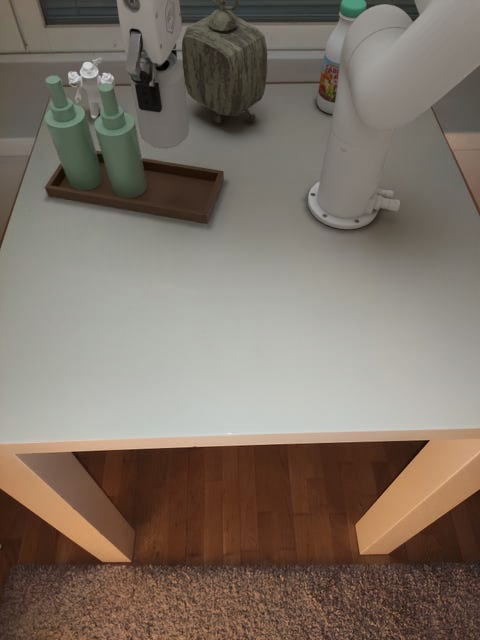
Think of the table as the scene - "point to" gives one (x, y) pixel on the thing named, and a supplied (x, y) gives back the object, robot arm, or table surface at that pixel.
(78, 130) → the bottle
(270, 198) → the table surface
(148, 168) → the tray
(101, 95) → the bottle
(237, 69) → the tabletop clock
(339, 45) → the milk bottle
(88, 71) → the hat wearing toy figure
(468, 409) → the table surface
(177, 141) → the can
